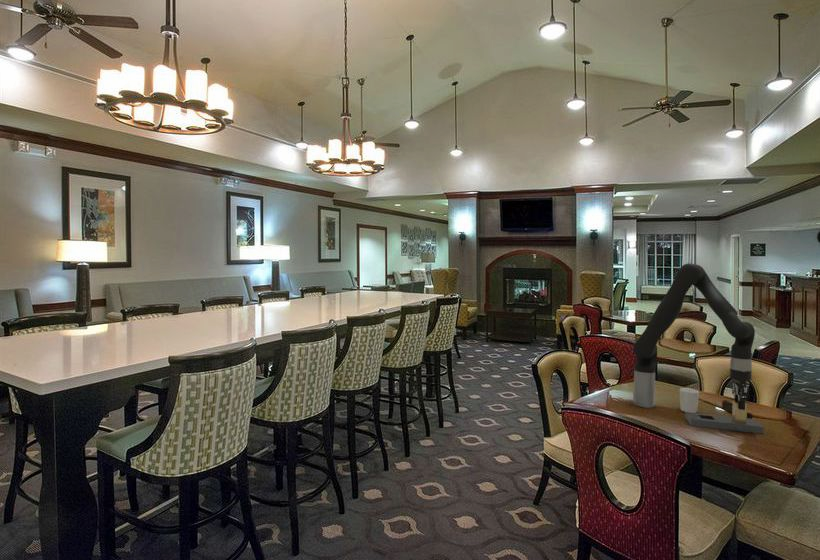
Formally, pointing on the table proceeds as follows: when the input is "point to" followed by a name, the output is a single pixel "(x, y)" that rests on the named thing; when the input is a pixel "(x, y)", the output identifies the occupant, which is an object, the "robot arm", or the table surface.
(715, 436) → the table surface
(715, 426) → the post plate
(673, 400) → the table surface
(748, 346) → the robot arm
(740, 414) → the brass block
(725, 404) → the hand tool
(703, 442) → the table surface
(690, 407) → the white cup
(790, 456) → the table surface
